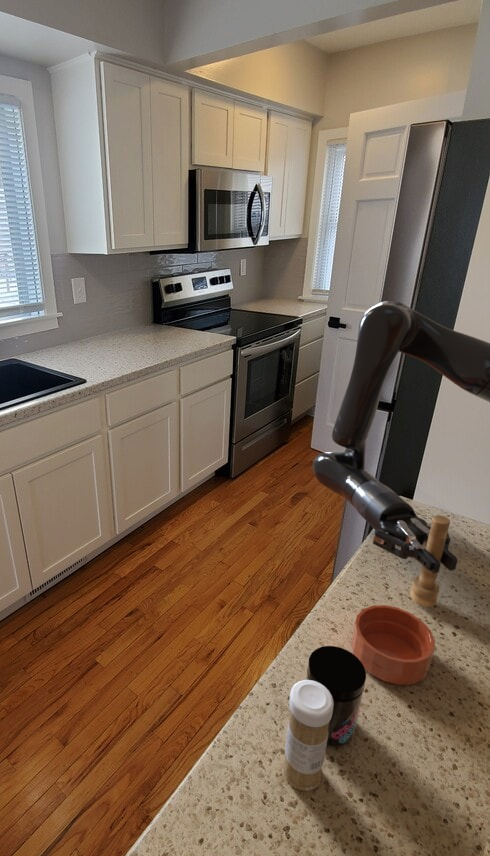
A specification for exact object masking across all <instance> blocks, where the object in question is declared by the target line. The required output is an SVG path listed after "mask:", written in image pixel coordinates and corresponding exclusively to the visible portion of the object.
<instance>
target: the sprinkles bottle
mask: <svg viewBox="0 0 490 856" xmlns="http://www.w3.org/2000/svg"><path fill="white" fill-rule="evenodd" d="M288 701H289V702H288V706H289V717H288V722H287V729H286V737H285V738H286V739H285V746H284V747H285V748H284V760H283V763H282V770H283V771H282V772H283V775H284V777H285V779H286V780H287V782H288V783H289V785H291V786H292V788H293V789H294V788H295V789H296V790H298V791H302V792H311V791H313V790H315V789H316V788H318V787H319V785H320V783H321V781H322V780H321V779H322V769H323V766H324V762H325V756H326V752H327V751H326V750H327V739H328V727H329V722H330V720H331V718H332V713H333V705H334V704H333V698H332V695H331V693H330V692H329V691H328V689H327V688H326V687H325V686H323V685H322V684H320V683H318V682H316V681H312V680H307V679H303V680H299V681H297V682H296V683H295V684H294V685H292V687H291V689H290V694H289V700H288Z"/></svg>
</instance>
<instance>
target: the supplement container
mask: <svg viewBox="0 0 490 856" xmlns="http://www.w3.org/2000/svg"><path fill="white" fill-rule="evenodd" d="M366 671H367V670H366V669H365V668H364V666H363V664H362V663H361V661H360V660H359V659H358V658H357V657H356V656H355V655H354V654H353V652H351V651H349V650H347V649H345V648H343V647H340V646H334V645H324V646H320V647H317V648H316V649H314V650H312V652H311V653H310V655H309V656H308V662H307V668H306V680H312V681H316V682H318V683H320V684H322V685H323V686H325V687H326V688H327V689H328V691H329V692H330V693H331V695H332V698H333V704H334V705H333V713H332V718H331V720H330V722H329V727H328V739H327V745H326V747H333V748H337V747H342V746H345V745H346V744H348V743H350V742H351V741H352V740H353V738H354V736H355V735H356V729H357V724H358V718H359V714H360V708H361V703H362V700H363V699H362V698H363V693H364V692H365V688H366V687H365V686H366V680H367V672H366Z"/></svg>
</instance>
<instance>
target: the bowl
mask: <svg viewBox="0 0 490 856" xmlns="http://www.w3.org/2000/svg"><path fill="white" fill-rule="evenodd" d="M350 646H351V650H352V654H354V655H355V656H356V657H357V658H358V659H359V660H360V661H361V663H362V664H363V666H364V668H365V671H367V672H368V673H369V674H371V675H372V676H374V677H376V678H378V679H379V680H382V681H383V682H385V683H386V682H387V683H390V684H395V685H399V686H400V685H402V686H403V685H405V686H406V685H415V684H416V683H418V682H421V681H423V680H424V679H425V678H426V676H427V675H428V674H429V672H430V669H431V664H432V660H433V657H434V653H435V646H436V640H435V638H434V635H433V633H432V631H431V629H430V628H429V627H428V626H427V624H425V622H424V621H422V620H421V619H420V618H418V617H417V616H416V615H414V614H413V613H411V612H408V611H406V610H403V609H402V608H399V607H396V606H392V605H386V604H381V605H376V604H375V605H371V606H368V607H365V608H363V609H362V610H361V611H360V612H359V613H357V615H356V618H355V621H354V626H353V632H352V637H351V644H350Z"/></svg>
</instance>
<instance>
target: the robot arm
mask: <svg viewBox="0 0 490 856" xmlns="http://www.w3.org/2000/svg"><path fill="white" fill-rule="evenodd" d="M357 332H358V333H357V341H356V347H355V355H354V361H353V365H352V370H351V373H350V377H349V380H348V384H347V387H346V390H345V393H344V396H343V398H342V401H341V404H340V408H339V410H338V413H337V415H336V419H335V422H334V426H333V428H332V432H331V439H332V441H333V442H334V443H335V444H337V445H338V446H340V447H343V448H345V450H344V451H324V452H321V453H319V454H317V455H316V456H315V458H314V460H313V462H312V471H313V474H314V477H315V478H316V480H317V481H318V482H319V483H320V484H321V485H322V486H323V487H325V488H327V489H328V490H330V491H332V492H333V493H335V494H338V495H339V496H341V497H342V498H345V499H346V501H347V502H348V503H350V505H352V507H353V508H354V509H355V510H356V511H357V513H358V514H359V515H360V517H361V518H363V520H364V521H366V523H368V525H370V527H372V529H373V530H374V535H373V541H372V544H373V545H374V546H377V547H379V548H380V549H383V550H384V551H385V552H389V553H390V554H392V555H394V556H396V557H398V558H400V559H402V560H407V559H408V558H411V559H412V560H415V561H417V562H418V563H420V565H421V566H422V565H423V566H424V567H425V568H426V569H427V570H429V571H431V572H432V573H439V572H440V567H441V564H442V565H443V566H444V567H445V568H447V570H449V571H455V570H456V569H457V565H458V558H457V556H456V555H455V554H454V553H452V551H450V550H449V547H450V543H451V537H450V535H449V534H450V533H449V532H448V533H447V537H446V541H445V545H444V549H443V553H442V557H441V561H440V562H439V561H438V560H437V559H436V558H435V557H434V556H433V555H432V554H431V553H430V552H428V551H427V550H426V546H427V542H428V537H429V533H430V528H431V524H432V523H428V522H427V521H426V520H425V519H423V518H421V517H419V516H417V514H416V512H415V509H414V508H413V507H412V506H411V505H410V504H409V503H408V502H407V501H405V500H404V499H403V498H402V497H400V495H398V494H397V493H396V492H395V491H394V490H392V489H391V488H390V487H388V486H387V485H385V484H384V483H382V482H381V481H380V480H379V479H377V478H376V477H375V476H374V475H372V474H371V473H370V472H368V471H366V470H365V468H366V449H367V448H366V447H367V440H368V437H369V434H370V431H371V428H372V426H373V423H374V420H375V417H376V414H377V411H378V406H379V402H380V397H381V393H382V390H383V385H384V383H385V380H386V377H387V375H388V372H389V371H390V368H391V366H392V365H393V362H394V361H395V359H396V357H397V355H398V354H399V353H401V354H405V355H407V356H410V357H411V358H415V359H417V360H418V361H421V362H423V363H425V364H426V365H428V366H429V367H431V368H433V369H434V370H435V371H437V372H438V373H439V374H441V375H442V376H443V377H445V378H446V379H448V380H449V381H450V382H452V384H454V385H456V386H457V387H459V388H460V389H462V390H464V391H466V392H467V393H469V394H470V395H473V396H474V397H475V396H476V397H477V398H480V399H482V400H483V401H486V402H487V403H490V342H488V341H486V340H483V339H480V338H477V337H474V336H471V335H470V334H467V333H466V334H465V333H463V332H460V331H456V330H454V329H451V328H448V327H446V326H444V325H442V324H440V323H437V322H436V321H434V320H433V319H430V318H429V317H427V316H425V315H423V314H422V313H420V312H418V311H417V310H414V309H413V308H412V307H409V306H408V305H407V304H405V303H404V302H400V301H395V300H386V301H382V302H379V303H377V304H375V305H374V306H372V307H371V308H369V309H368V310H367V311H365V313H364V314H363V315H362V317H361V319H360V321H359V325H358V331H357ZM396 546H397V547H399V548H400V549H398V548H397V547H396Z"/></svg>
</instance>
